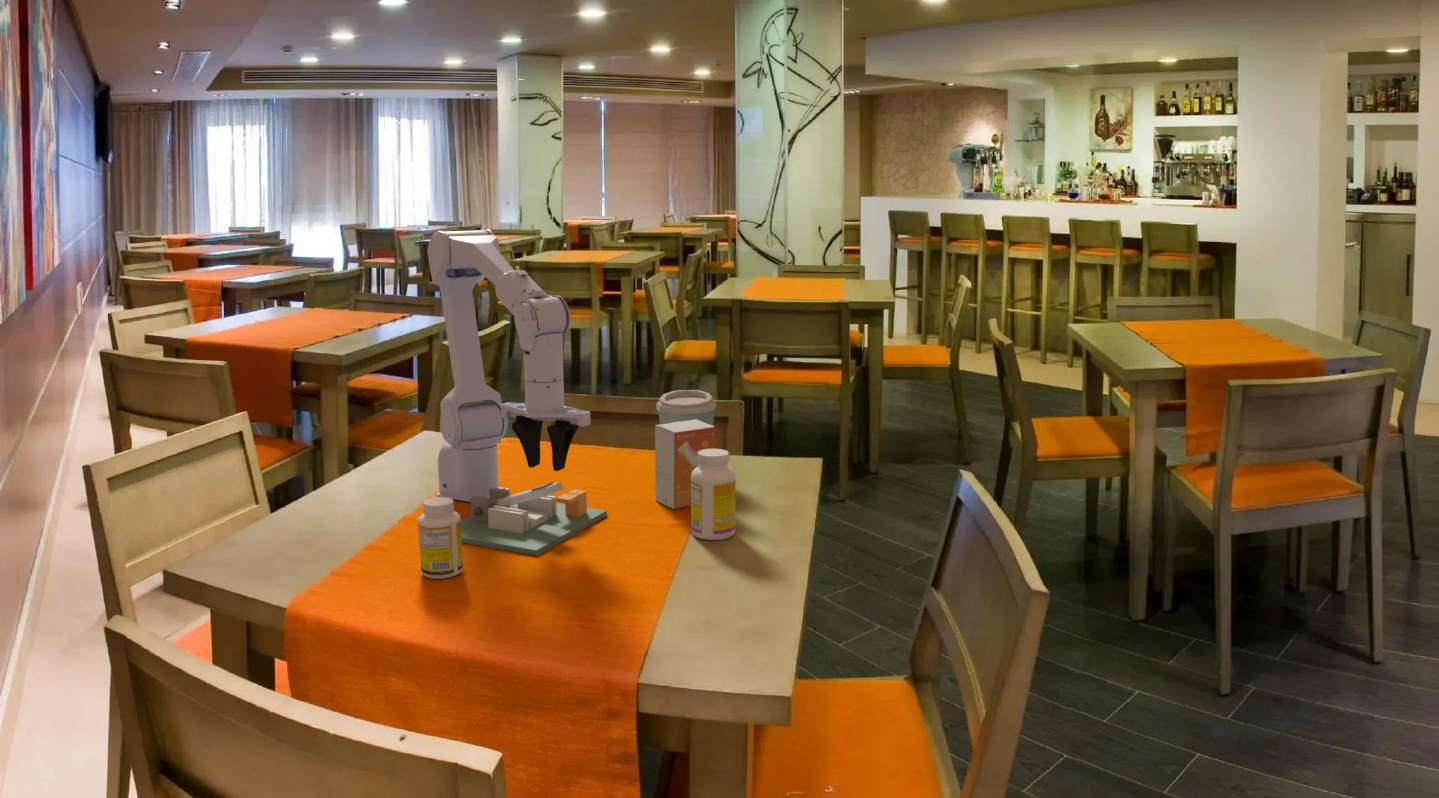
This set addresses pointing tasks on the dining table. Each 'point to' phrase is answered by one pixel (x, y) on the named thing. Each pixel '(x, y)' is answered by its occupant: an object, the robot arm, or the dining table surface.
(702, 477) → the supplement bottle
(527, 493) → the white stepped bar
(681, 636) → the dining table surface
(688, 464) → the small box
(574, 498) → the lug slider
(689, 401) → the disposable coffee cup
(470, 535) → the socket base
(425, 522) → the supplement bottle
